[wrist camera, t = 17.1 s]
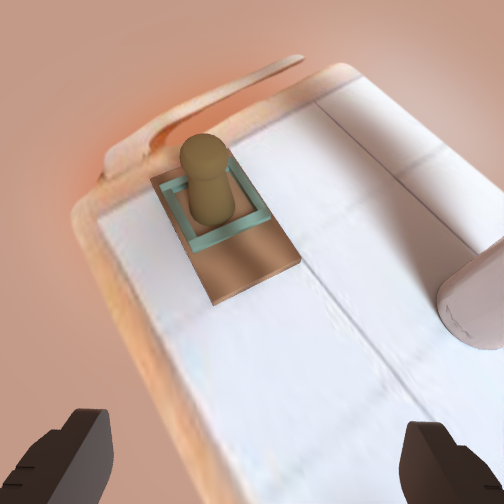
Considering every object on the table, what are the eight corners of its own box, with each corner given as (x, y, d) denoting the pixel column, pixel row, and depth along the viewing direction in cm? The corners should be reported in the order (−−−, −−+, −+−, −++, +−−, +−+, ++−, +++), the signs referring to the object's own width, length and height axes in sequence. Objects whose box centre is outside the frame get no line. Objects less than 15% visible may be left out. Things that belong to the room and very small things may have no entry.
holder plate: (228, 155, 52) (228, 142, 49) (299, 262, 44) (302, 253, 41) (152, 185, 49) (147, 173, 47) (213, 306, 41) (211, 298, 38)
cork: (196, 185, 47) (182, 120, 37) (239, 192, 47) (237, 128, 37) (183, 222, 44) (165, 163, 35) (229, 230, 44) (224, 172, 34)
